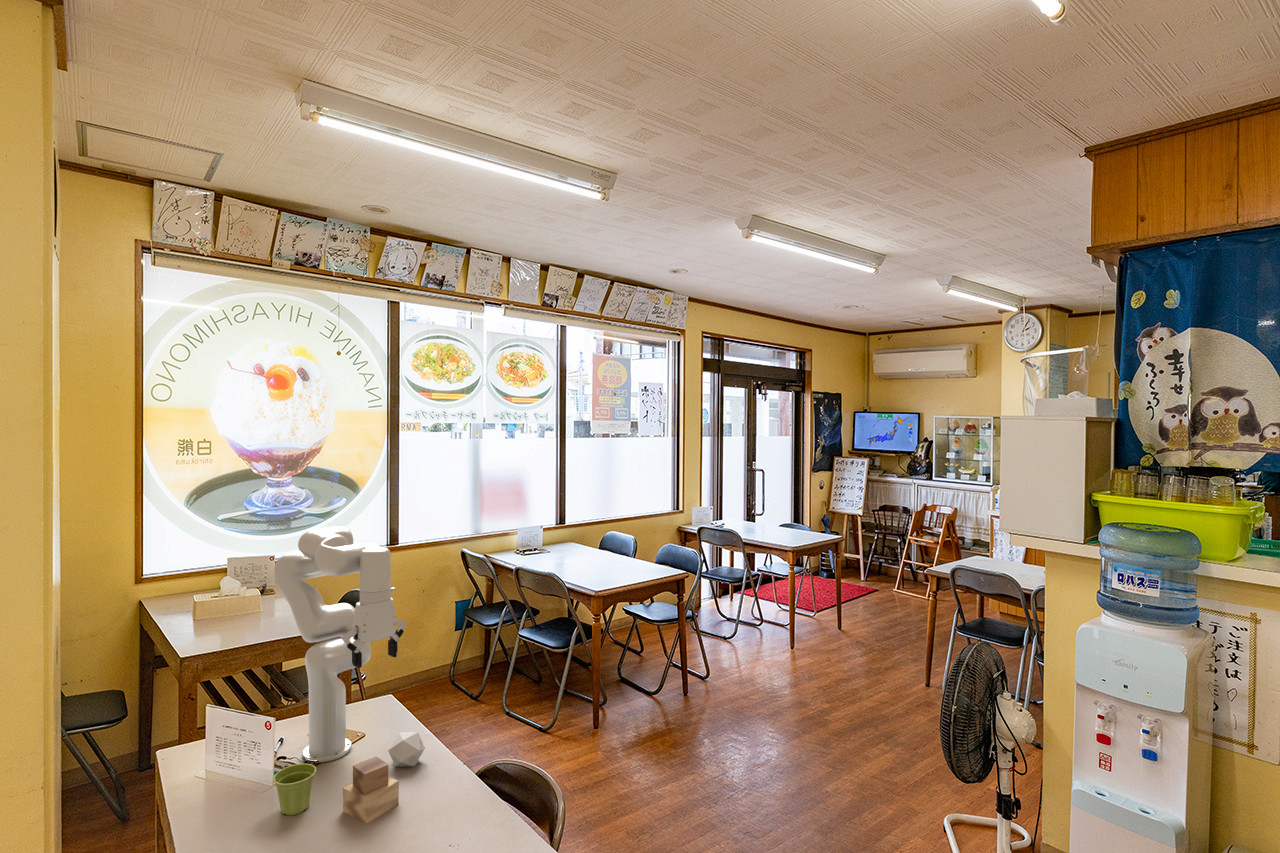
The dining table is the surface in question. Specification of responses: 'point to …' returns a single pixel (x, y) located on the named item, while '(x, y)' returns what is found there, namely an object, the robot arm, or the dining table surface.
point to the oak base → (370, 801)
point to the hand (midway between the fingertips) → (375, 661)
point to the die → (406, 749)
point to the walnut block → (370, 775)
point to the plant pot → (294, 787)
